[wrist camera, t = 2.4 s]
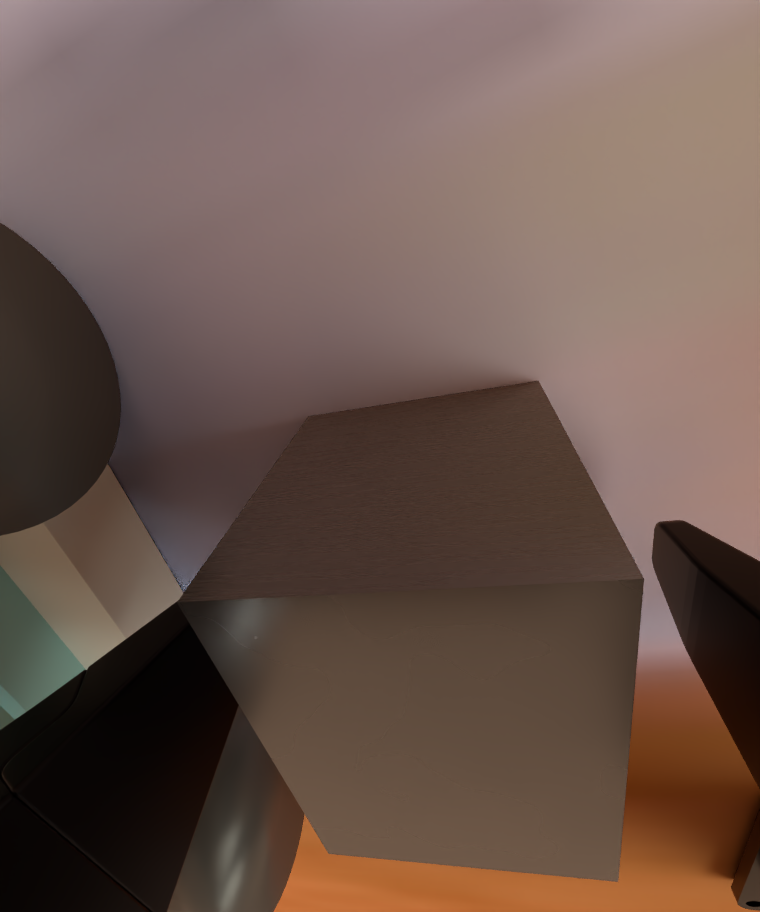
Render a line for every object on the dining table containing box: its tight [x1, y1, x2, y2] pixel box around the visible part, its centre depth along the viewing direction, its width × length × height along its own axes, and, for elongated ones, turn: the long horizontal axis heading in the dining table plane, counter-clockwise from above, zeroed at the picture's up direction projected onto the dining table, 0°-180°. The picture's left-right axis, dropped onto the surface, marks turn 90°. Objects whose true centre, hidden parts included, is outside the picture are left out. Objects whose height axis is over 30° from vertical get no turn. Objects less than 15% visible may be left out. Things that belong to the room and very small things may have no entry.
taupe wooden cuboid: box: [177, 381, 644, 882], centre depth 8 cm, size 6×4×5 cm
